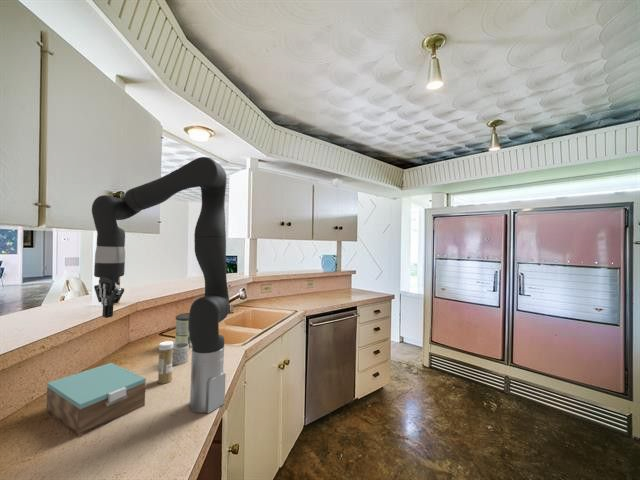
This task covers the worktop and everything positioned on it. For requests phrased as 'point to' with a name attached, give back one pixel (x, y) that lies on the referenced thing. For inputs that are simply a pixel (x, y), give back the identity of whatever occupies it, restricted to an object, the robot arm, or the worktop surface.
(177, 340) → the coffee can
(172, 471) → the worktop surface
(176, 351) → the mug
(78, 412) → the storage box
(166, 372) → the sprinkles bottle
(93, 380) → the lid
